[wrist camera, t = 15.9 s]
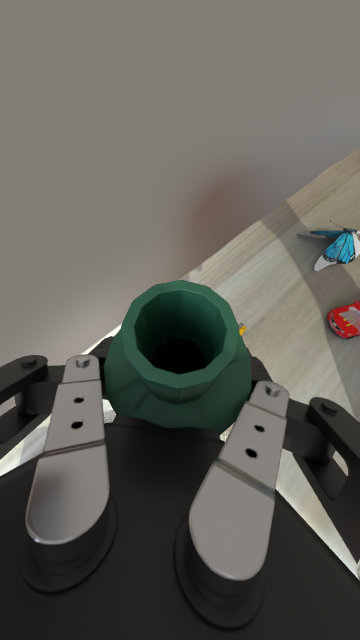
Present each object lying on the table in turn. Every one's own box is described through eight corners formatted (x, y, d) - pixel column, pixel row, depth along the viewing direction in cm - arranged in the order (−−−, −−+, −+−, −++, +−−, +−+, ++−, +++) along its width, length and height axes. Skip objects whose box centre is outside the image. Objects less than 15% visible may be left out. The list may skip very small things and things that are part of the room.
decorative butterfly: (383, 253, 39) (343, 245, 36) (350, 275, 45) (312, 270, 42) (357, 215, 44) (319, 206, 41) (330, 240, 49) (295, 233, 46)
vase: (198, 360, 21) (243, 232, 7) (218, 426, 19) (341, 417, 5) (138, 375, 21) (63, 262, 7) (149, 446, 18) (65, 500, 4)
